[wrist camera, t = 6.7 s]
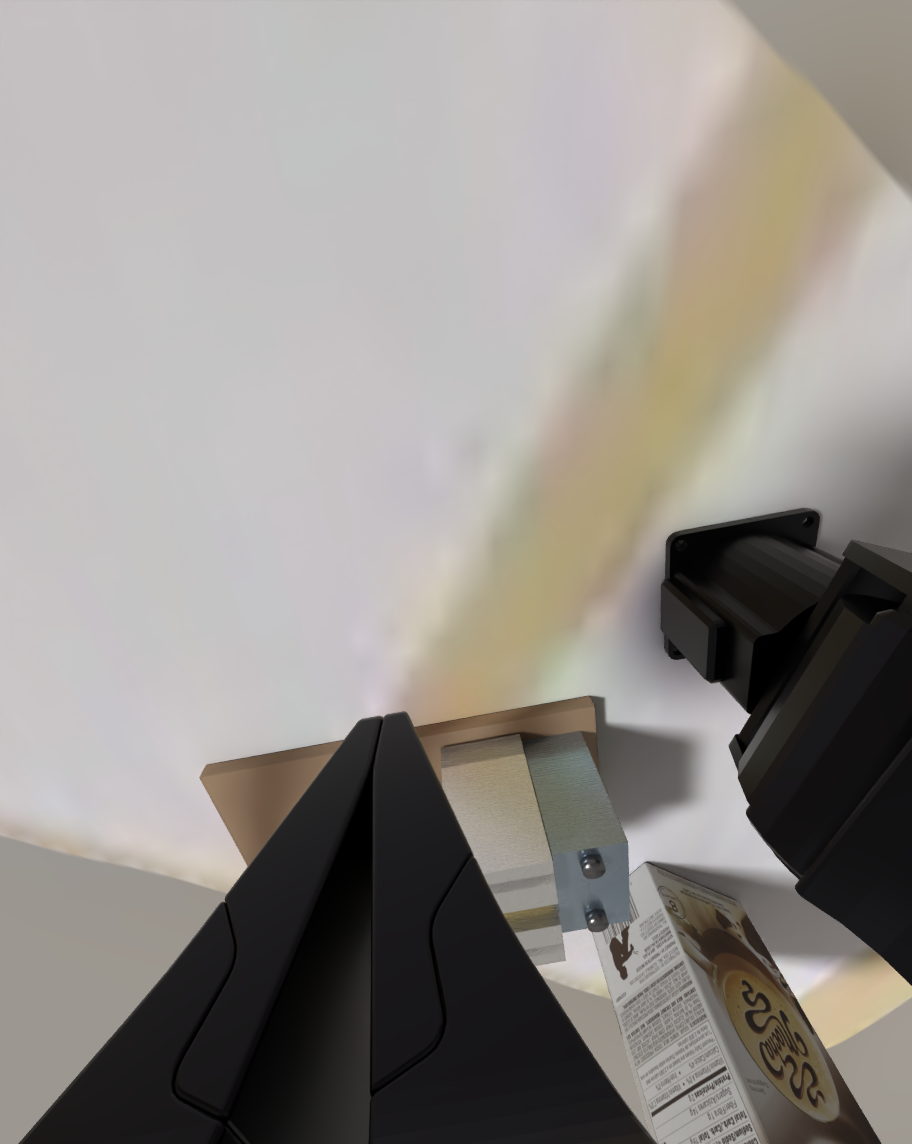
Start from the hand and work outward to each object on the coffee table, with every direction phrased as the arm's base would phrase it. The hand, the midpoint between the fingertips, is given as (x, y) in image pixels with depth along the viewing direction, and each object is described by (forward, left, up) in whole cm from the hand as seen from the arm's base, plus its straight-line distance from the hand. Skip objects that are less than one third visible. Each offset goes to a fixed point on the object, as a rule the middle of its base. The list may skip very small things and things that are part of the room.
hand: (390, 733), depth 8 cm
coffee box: (-11, +30, -13) cm, 34 cm away
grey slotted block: (-1, +15, -12) cm, 20 cm away
